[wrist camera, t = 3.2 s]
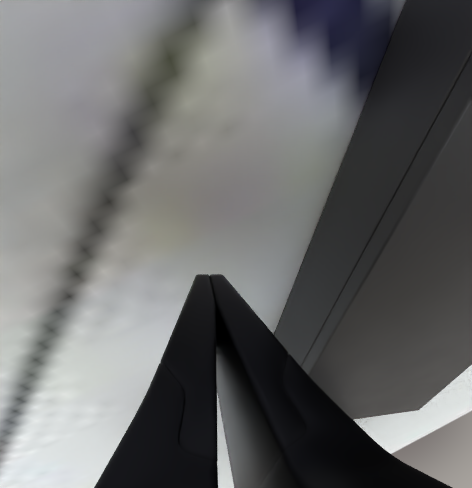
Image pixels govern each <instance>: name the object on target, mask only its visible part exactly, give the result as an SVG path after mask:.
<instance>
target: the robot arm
mask: <svg viewBox="0 0 472 488" xmlns="http://www.w3.org/2000/svg"><path fill="white" fill-rule="evenodd" d="M217 393H218V398H219V404H220V409H221V415H222V421H223V426H224V432H225V437H226V443H227V449H228V454H229V460H230V465H231V471H232V477H233V482H234V488H452V487H450V486H447V485H446V484H444V483H442V482H440V481H438V480H436V479H434V478H432V477H430V476H428V475H426V474H424V473H423V472H421V471H418V470H417V469H414V468H413V467H411V466H409V465H407V464H405V463H403V462H402V461H400V460H399V459H397V458H395V457H394V456H392V455H391V454H390V453H388V452H387V451H386V450H384V449H383V448H382V447H381V446H380V445H378V444H377V443H376V442H375V441H374V440H373V439H372V438H371V437H370V436H369V435H368V434H367V433H366V432H365V431H363V430H362V429H361V428H360V427H359V426H358V425H357V424H356V423H355V422H354V421H353V419H351V418H350V417H349V416H348V415H347V414H346V413H345V412H344V411H343V410H342V409H341V408H340V407H339V406H338V405H337V404H336V403H335V402H334V401H333V400H332V399H331V398H330V397H329V396H328V395H327V394H326V393H325V392H324V391H323V390H322V389H321V388H320V387H319V386H318V385H317V384H316V383H315V382H314V381H313V380H312V379H311V378H310V376H309V375H308V374H307V373H306V372H305V371H304V370H303V369H302V367H301V366H300V365H299V364H298V363H297V362H296V360H295V359H294V358H293V357H292V356H291V355H290V354H288V351H287V350H286V349H285V348H284V346H283V345H282V344H281V343H280V342H279V341H278V339H277V338H276V337H275V336H274V335H273V333H272V332H271V331H270V330H269V329H268V328H267V326H266V325H265V324H264V323H263V322H262V320H261V319H260V318H259V317H258V316H257V315H256V313H255V312H254V311H253V310H252V309H251V307H250V306H249V305H248V304H247V303H246V302H245V300H244V299H243V298H242V297H241V296H240V294H239V293H238V292H237V291H236V290H235V289H234V287H233V286H232V285H231V284H230V283H229V281H228V280H227V279H226V278H225V277H224V276H223V275H221V274H212V275H210V276H209V275H208V274H198V275H196V277H195V279H194V281H193V284H192V286H191V289H190V291H189V294H188V296H187V298H186V301H185V303H184V306H183V308H182V311H181V313H180V315H179V318H178V320H177V323H176V325H175V328H174V330H173V332H172V335H171V337H170V340H169V342H168V345H167V347H166V349H165V352H164V354H163V357H162V359H161V363H160V364H159V366H158V368H157V371H156V373H155V376H154V378H153V380H152V382H151V384H150V387H149V389H148V391H147V393H146V396H145V398H144V399H143V401H142V403H141V405H140V407H139V409H138V411H137V413H136V415H135V417H134V419H133V420H132V422H131V424H130V426H129V427H128V429H127V431H126V433H125V435H124V436H123V438H122V440H121V442H120V443H119V445H118V447H117V449H116V450H115V452H114V454H113V456H112V458H111V459H110V461H109V463H108V465H107V466H106V468H105V470H104V472H103V473H102V475H101V477H100V479H99V480H98V482H97V484H96V486H95V487H94V488H218V472H217Z"/></svg>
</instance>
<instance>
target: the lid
mask: <svg viewBox="0 0 472 488" xmlns="http://www.w3.org/2000/svg"><path fill="white" fill-rule="evenodd" d="M274 336H275V337H276V338H277V339H278V341H279V342H280V343H281V344H282V345H283V346H284V348H285V349H286V350H287V351H288V354H290V355H291V356H292V357H293V358H294V359H295V360H296V362H297V363H298V364H299V365H300V366H301V367H302V369H303V370H304V371H305V372H306V373H307V374H308V375H309V376H310V378H311V379H312V380H313V381H314V382H315V383H316V384H317V385H318V386H319V387H320V388H321V389H322V390H323V391H324V392H325V393H326V394H327V395H328V396H329V397H330V398H331V399H332V400H333V401H334V402H335V403H336V404H337V405H338V406H339V407H340V408H341V409H342V410H343V411H344V412H345V413H346V414H347V415H348V416H349V417H350V418H351V419H359V418H366V417H373V416H380V415H387V414H394V413H401V412H408V411H415V410H419V409H420V408H422V407H423V406H424V405H425V404H426V403H427V402H429V401H430V400H431V399H432V398H433V397H434V396H436V395H437V394H438V393H439V392H440V391H441V390H443V389H444V388H445V387H446V386H447V385H448V384H450V383H451V382H452V381H453V380H454V379H455V378H456V377H458V376H459V375H460V374H461V373H462V372H463V371H465V370H466V369H467V368H468V367H469V366H470V365H472V0H406V3H405V5H404V8H403V10H402V13H401V15H400V18H399V20H398V23H397V25H396V28H395V30H394V33H393V35H392V38H391V40H390V43H389V46H388V48H387V51H386V53H385V56H384V58H383V61H382V63H381V66H380V68H379V71H378V73H377V76H376V78H375V81H374V83H373V86H372V88H371V91H370V94H369V96H368V99H367V101H366V104H365V106H364V109H363V111H362V114H361V116H360V119H359V121H358V124H357V126H356V129H355V131H354V134H353V136H352V139H351V141H350V144H349V147H348V149H347V152H346V154H345V157H344V159H343V162H342V164H341V167H340V169H339V172H338V174H337V177H336V179H335V182H334V184H333V187H332V189H331V192H330V195H329V197H328V200H327V202H326V205H325V207H324V210H323V212H322V215H321V217H320V220H319V222H318V225H317V227H316V230H315V232H314V235H313V237H312V240H311V243H310V245H309V248H308V250H307V253H306V255H305V258H304V260H303V263H302V265H301V268H300V270H299V273H298V275H297V278H296V280H295V283H294V285H293V288H292V291H291V293H290V296H289V298H288V301H287V303H286V306H285V308H284V311H283V313H282V316H281V318H280V321H279V323H278V326H277V328H276V331H275V333H274Z"/></svg>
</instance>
